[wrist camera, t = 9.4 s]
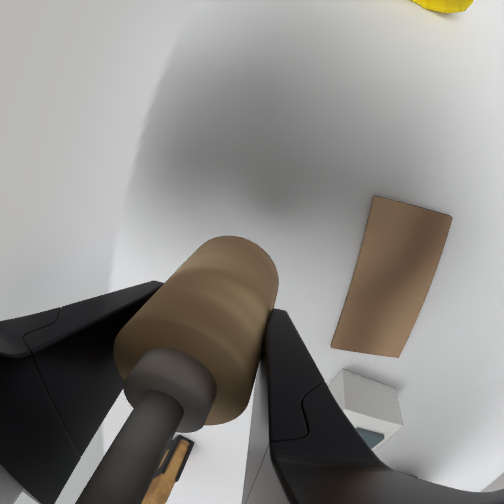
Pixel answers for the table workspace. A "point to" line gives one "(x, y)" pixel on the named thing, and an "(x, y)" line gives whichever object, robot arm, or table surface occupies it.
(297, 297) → the table surface
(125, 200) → the table surface
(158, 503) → the ammunition clip
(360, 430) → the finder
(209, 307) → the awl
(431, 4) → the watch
